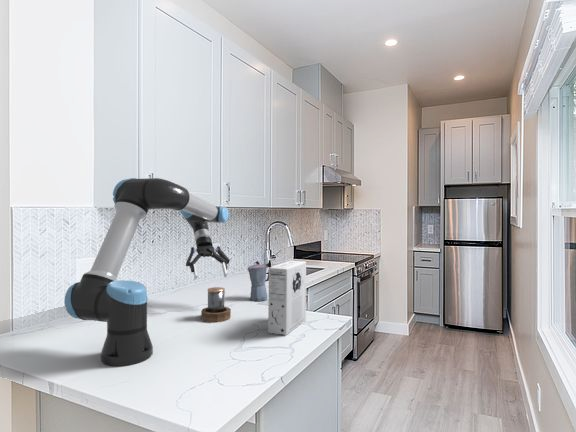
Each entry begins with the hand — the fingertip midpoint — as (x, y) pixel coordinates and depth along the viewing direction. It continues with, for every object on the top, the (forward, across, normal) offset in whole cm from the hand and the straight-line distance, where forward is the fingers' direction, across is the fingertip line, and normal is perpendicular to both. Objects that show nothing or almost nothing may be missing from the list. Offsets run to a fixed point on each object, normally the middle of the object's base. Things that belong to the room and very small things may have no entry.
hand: (211, 276), depth 168 cm
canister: (+18, 0, -5) cm, 18 cm away
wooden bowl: (+18, 0, -5) cm, 19 cm away
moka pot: (+2, -29, -21) cm, 36 cm away
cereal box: (+34, -23, +11) cm, 43 cm away
